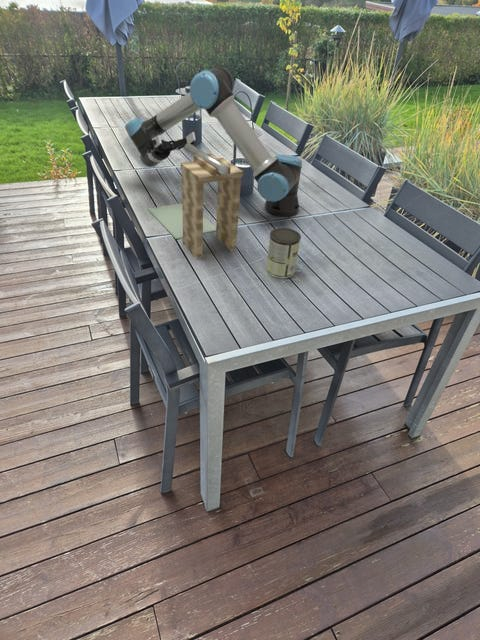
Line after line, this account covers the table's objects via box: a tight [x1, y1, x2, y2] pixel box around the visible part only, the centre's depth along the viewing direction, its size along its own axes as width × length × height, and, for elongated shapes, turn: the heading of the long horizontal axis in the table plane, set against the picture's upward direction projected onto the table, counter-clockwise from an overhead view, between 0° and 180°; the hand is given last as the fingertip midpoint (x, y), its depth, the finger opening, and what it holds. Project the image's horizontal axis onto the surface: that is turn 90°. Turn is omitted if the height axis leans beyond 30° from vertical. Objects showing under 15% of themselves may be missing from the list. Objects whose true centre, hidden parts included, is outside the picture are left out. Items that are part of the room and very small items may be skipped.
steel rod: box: [183, 143, 228, 175], centre depth 146 cm, size 24×3×3 cm, turn 34°
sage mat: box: [148, 202, 216, 240], centre depth 179 cm, size 28×18×1 cm, turn 31°
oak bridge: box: [180, 152, 244, 260], centre depth 153 cm, size 14×16×32 cm
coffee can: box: [265, 227, 302, 279], centre depth 150 cm, size 10×10×14 cm
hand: (177, 137), depth 161 cm, fingers open, 13 cm apart
